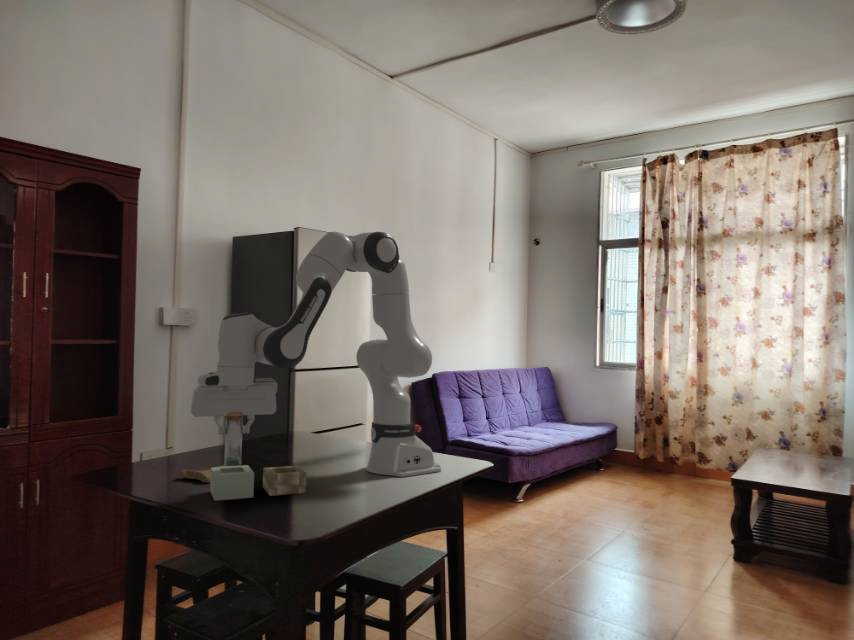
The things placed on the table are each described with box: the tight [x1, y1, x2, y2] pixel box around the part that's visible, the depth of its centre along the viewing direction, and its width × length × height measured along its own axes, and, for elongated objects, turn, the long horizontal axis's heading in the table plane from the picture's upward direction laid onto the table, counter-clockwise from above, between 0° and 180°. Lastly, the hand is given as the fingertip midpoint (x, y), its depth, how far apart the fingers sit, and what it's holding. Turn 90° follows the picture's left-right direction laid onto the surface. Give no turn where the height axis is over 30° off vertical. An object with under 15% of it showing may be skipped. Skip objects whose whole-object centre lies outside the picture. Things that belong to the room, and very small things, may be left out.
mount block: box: [262, 465, 307, 497], centre depth 157 cm, size 9×9×5 cm
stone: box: [178, 464, 227, 484], centre depth 169 cm, size 11×16×3 cm
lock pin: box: [223, 413, 246, 466], centre depth 152 cm, size 5×5×13 cm
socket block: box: [209, 464, 255, 502], centre depth 152 cm, size 9×9×6 cm
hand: (233, 433), depth 152 cm, fingers closed on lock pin, 4 cm apart
